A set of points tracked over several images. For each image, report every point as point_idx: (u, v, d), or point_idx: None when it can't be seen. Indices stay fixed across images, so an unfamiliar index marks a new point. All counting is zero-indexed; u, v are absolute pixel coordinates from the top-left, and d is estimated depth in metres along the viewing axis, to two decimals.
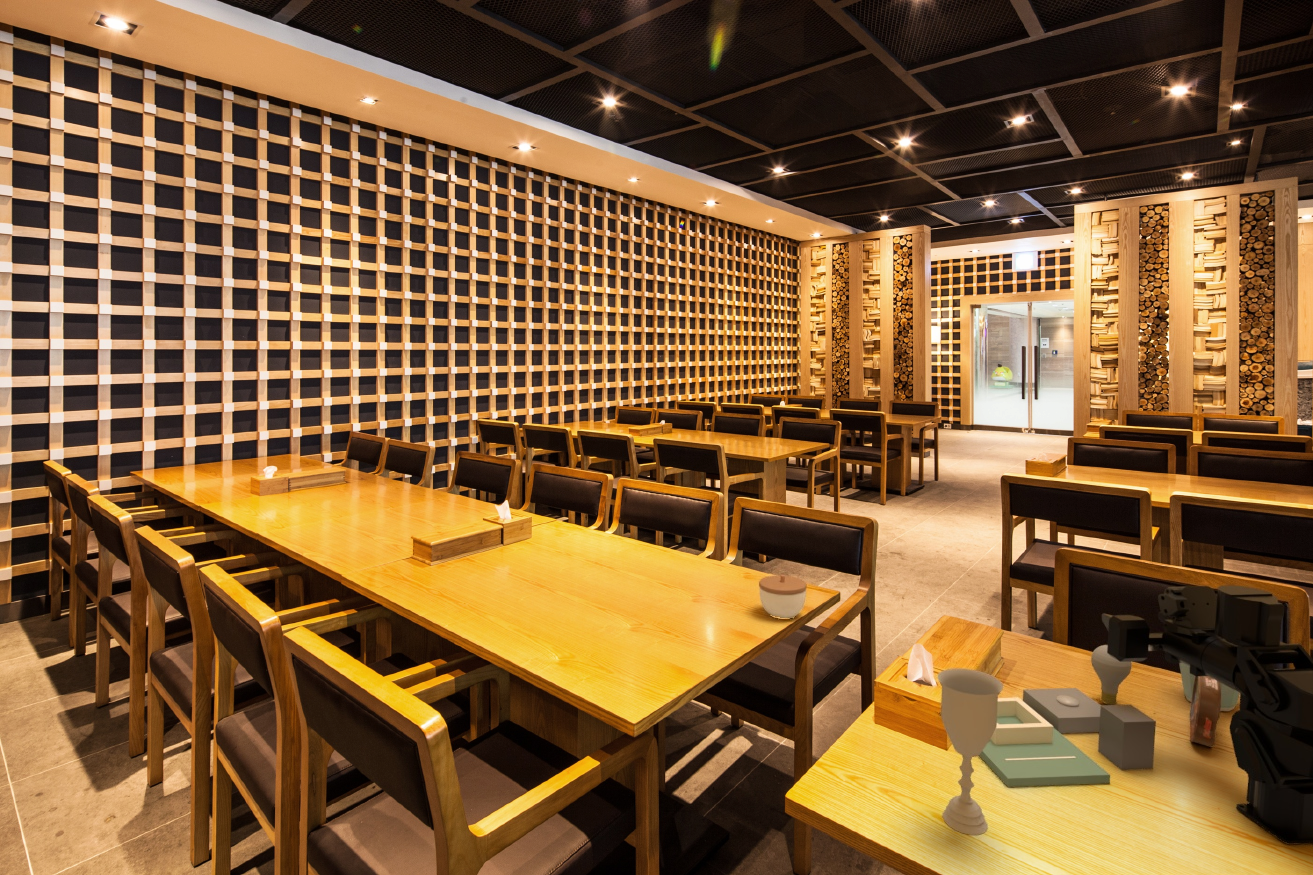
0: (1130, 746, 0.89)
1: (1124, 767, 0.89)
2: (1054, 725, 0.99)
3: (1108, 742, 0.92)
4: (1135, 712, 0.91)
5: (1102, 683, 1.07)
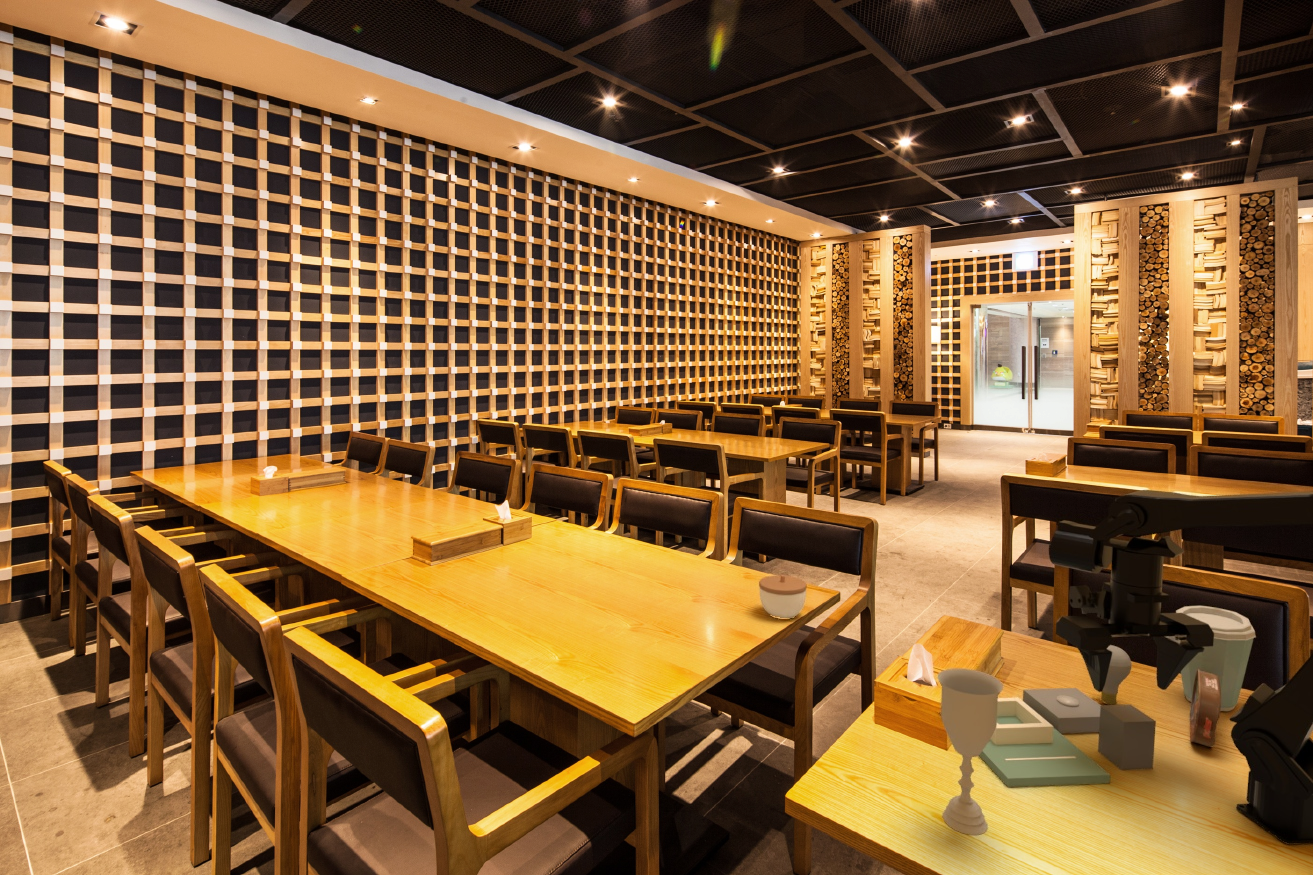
0: (1130, 746, 0.89)
1: (1124, 767, 0.89)
2: (1054, 725, 0.99)
3: (1108, 742, 0.92)
4: (1135, 712, 0.91)
5: None
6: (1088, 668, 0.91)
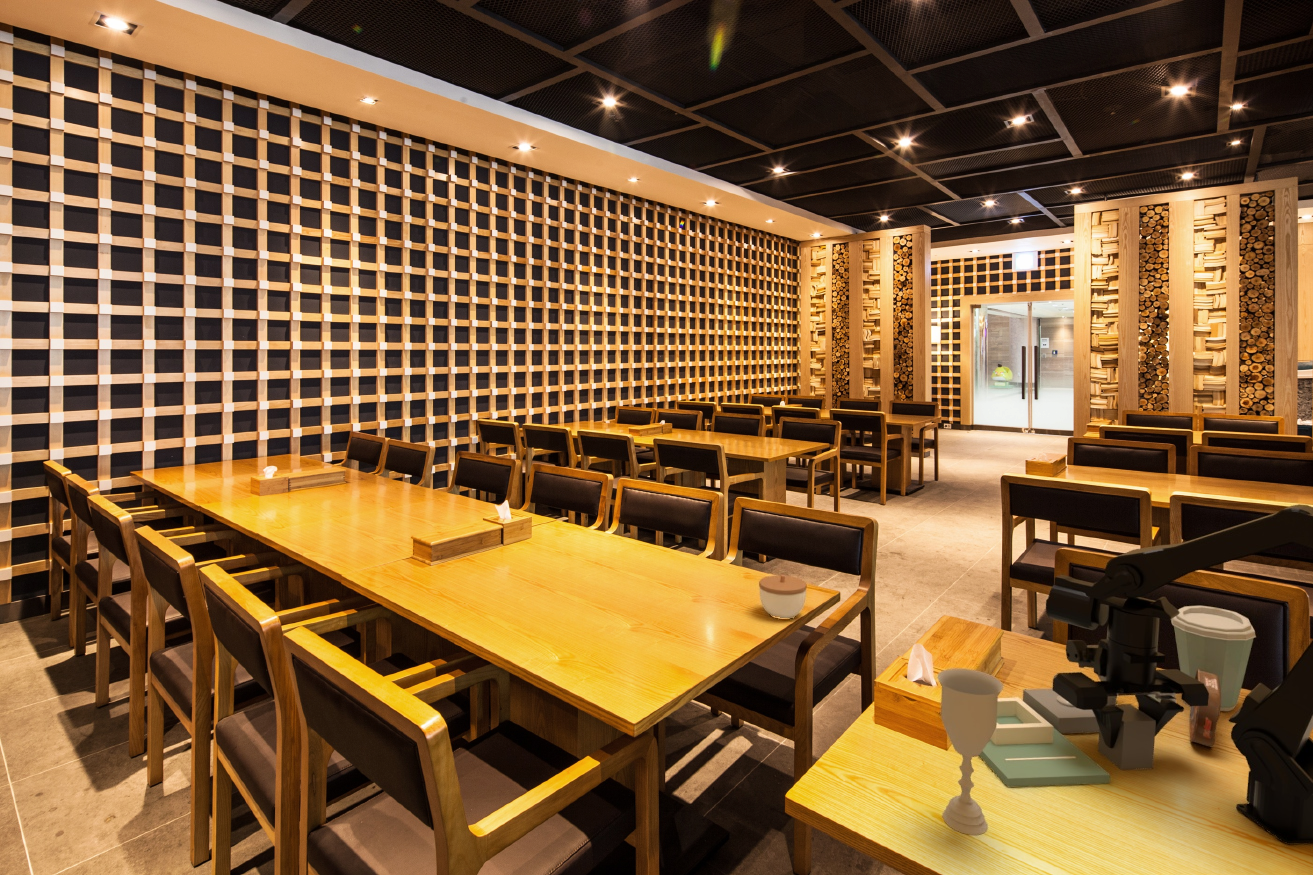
0: (1130, 746, 0.89)
1: (1124, 767, 0.89)
2: (1054, 725, 0.99)
3: None
4: (1135, 712, 0.91)
5: None
6: (1100, 724, 0.92)
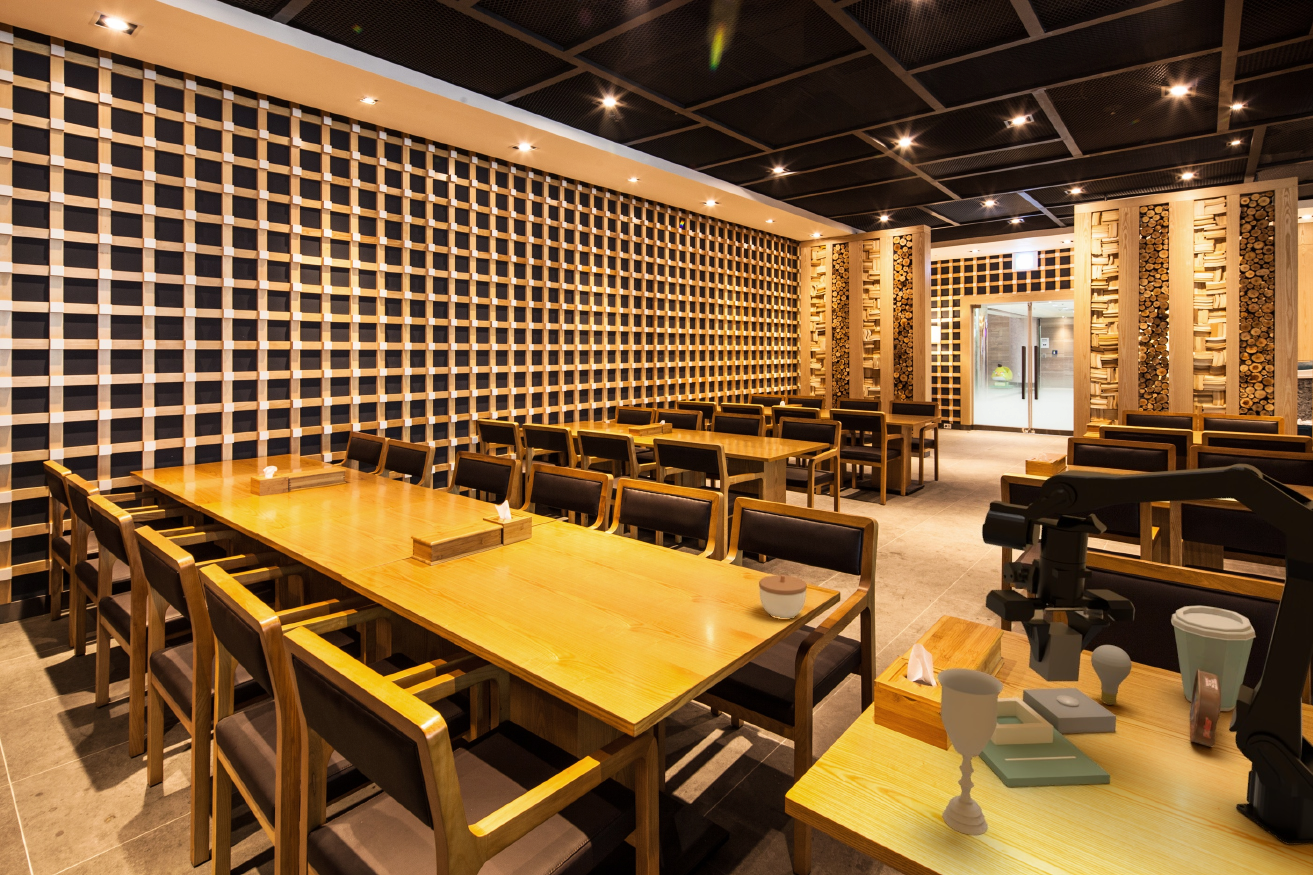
0: (1056, 658, 0.92)
1: (1050, 679, 0.93)
2: (1054, 725, 0.99)
3: None
4: (1064, 628, 0.94)
5: (1102, 683, 1.07)
6: (1029, 640, 0.95)
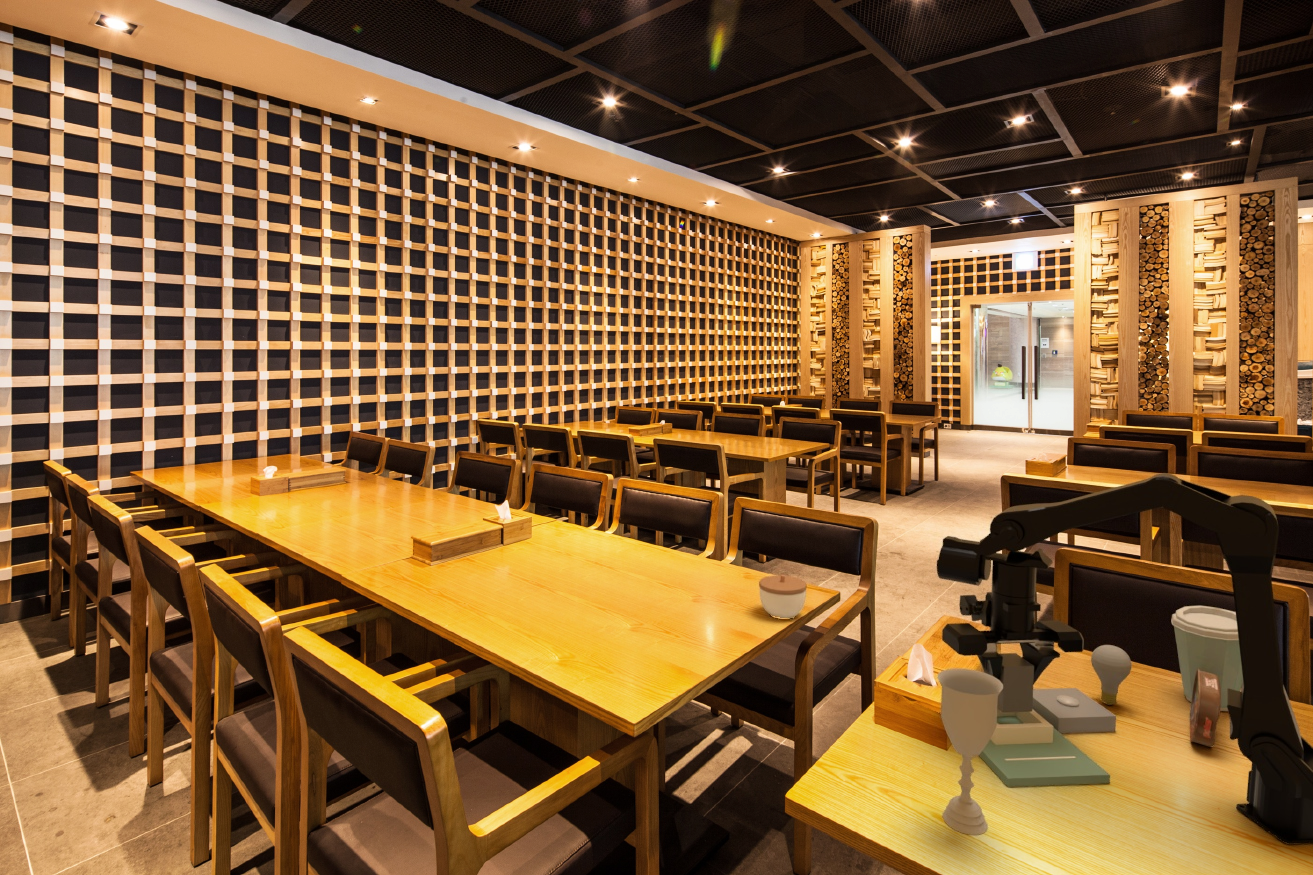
0: (1010, 689, 0.95)
1: (1005, 710, 0.95)
2: (1054, 725, 0.99)
3: None
4: (1017, 659, 0.97)
5: (1102, 683, 1.07)
6: (985, 672, 0.98)
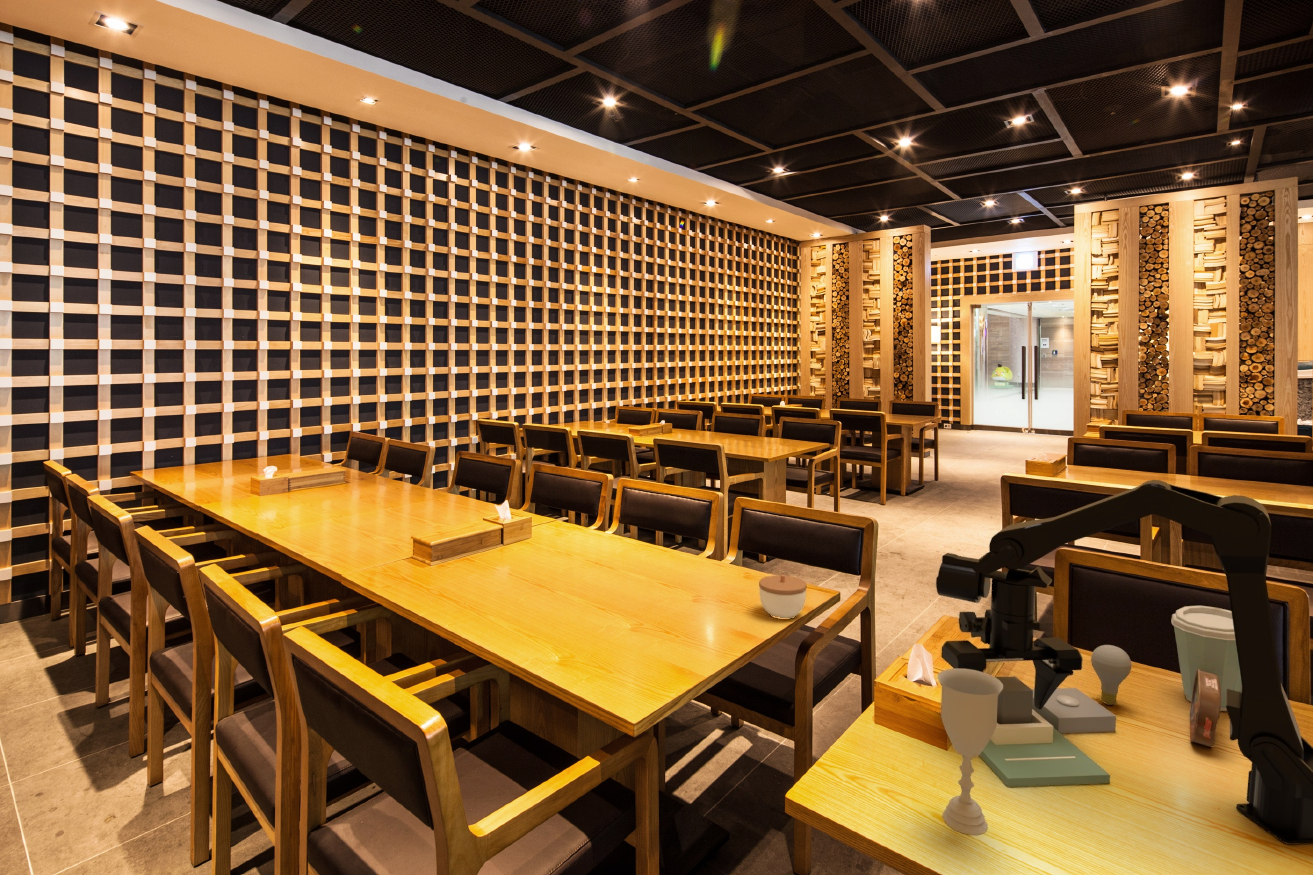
0: (1009, 714, 0.96)
1: None
2: (1054, 725, 0.99)
3: None
4: (1017, 683, 0.98)
5: (1102, 683, 1.07)
6: None
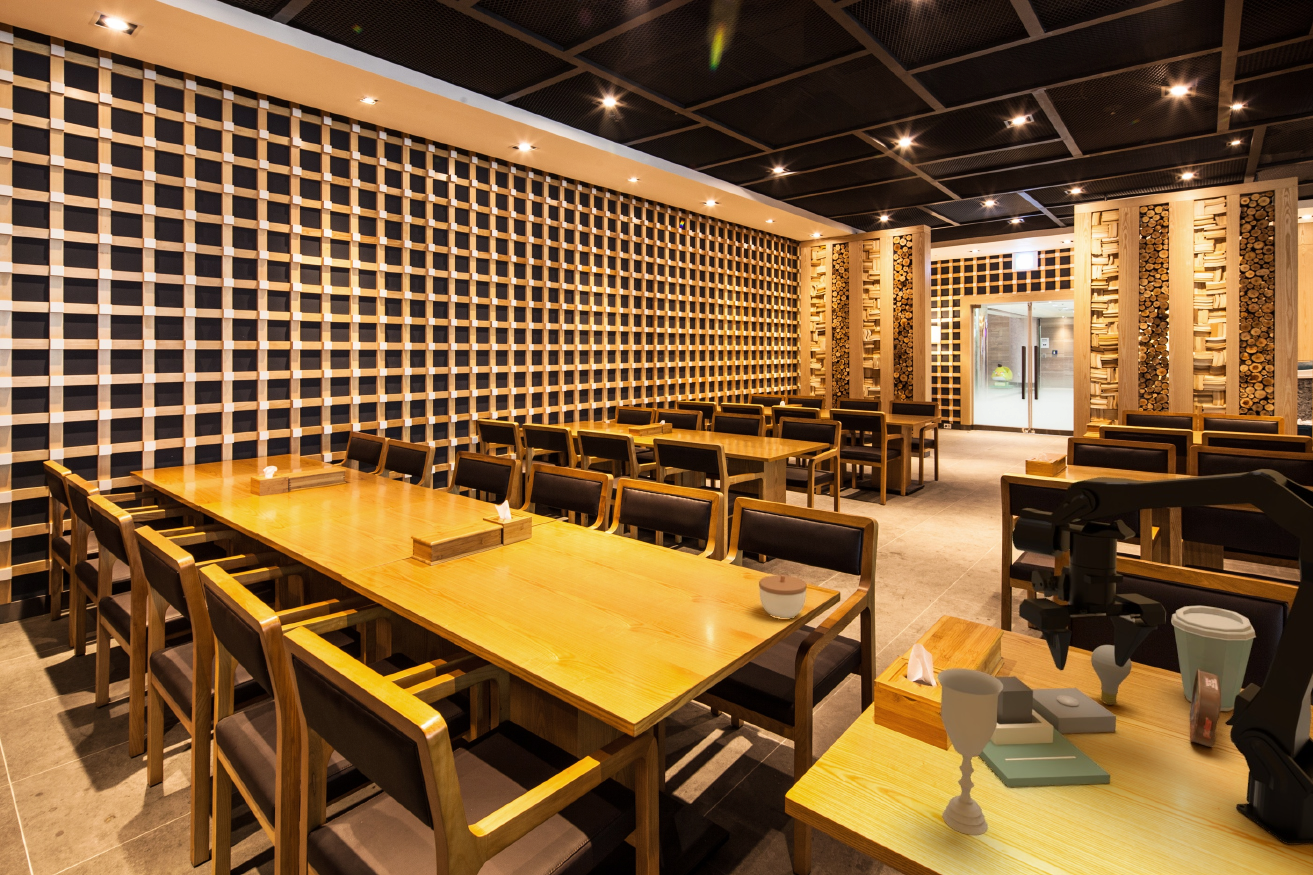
0: (1009, 714, 0.96)
1: None
2: (1054, 725, 0.99)
3: None
4: (1017, 683, 0.98)
5: (1102, 683, 1.07)
6: (1050, 648, 0.95)
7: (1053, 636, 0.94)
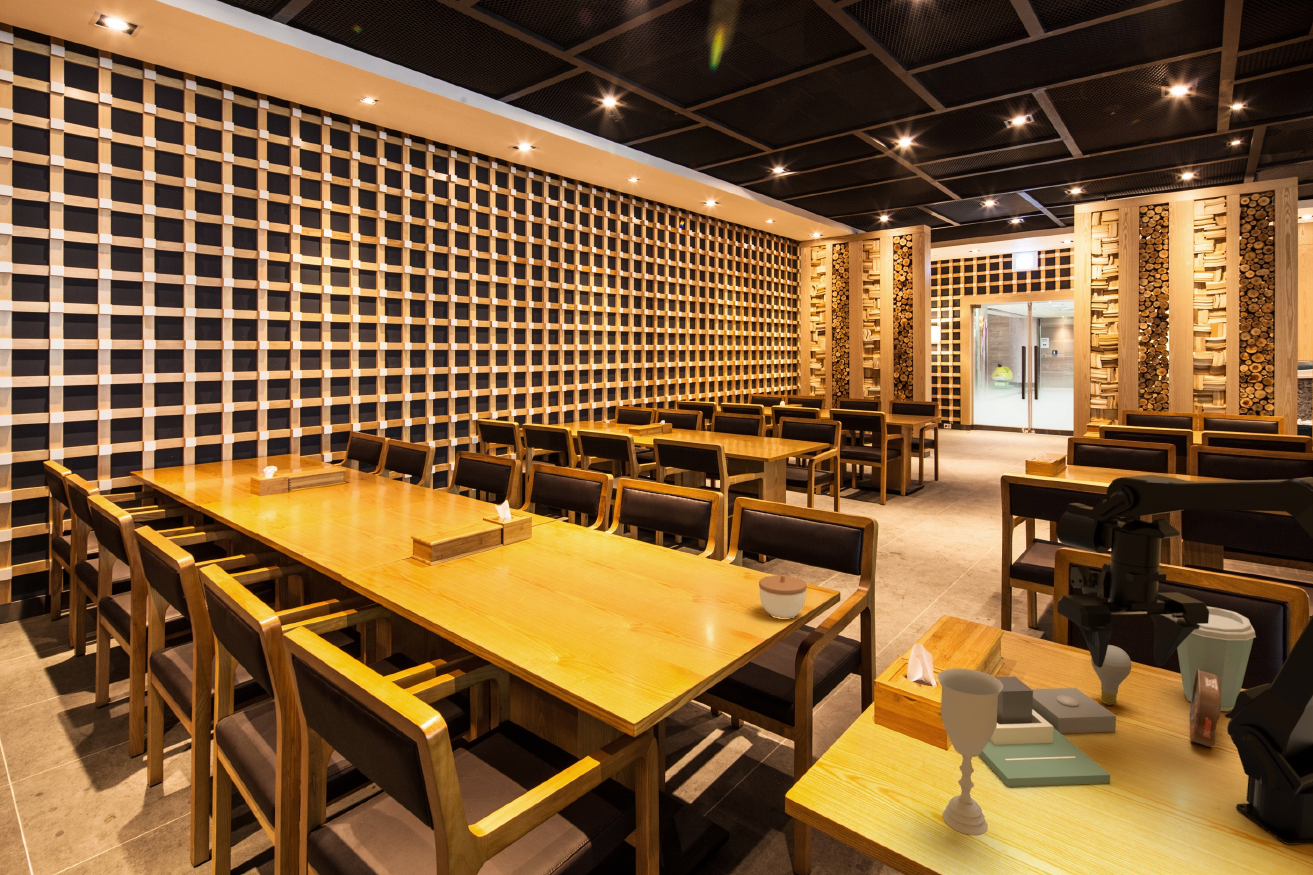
0: (1009, 714, 0.96)
1: None
2: (1054, 725, 0.99)
3: None
4: (1017, 683, 0.98)
5: (1102, 683, 1.07)
6: (1089, 645, 0.95)
7: (1092, 633, 0.94)
